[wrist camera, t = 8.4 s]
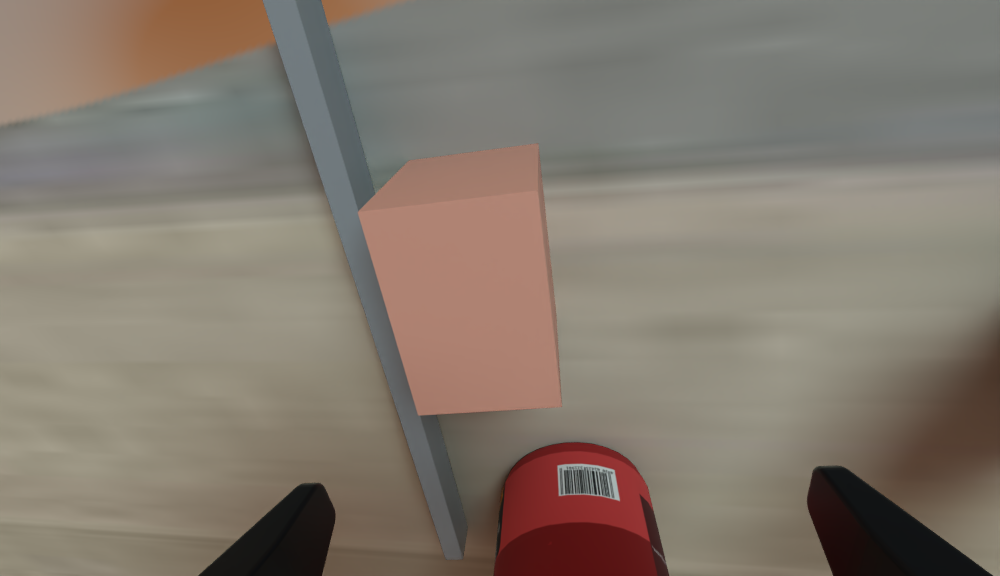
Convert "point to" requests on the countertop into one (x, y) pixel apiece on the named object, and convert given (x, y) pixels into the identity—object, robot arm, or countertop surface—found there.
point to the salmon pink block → (469, 280)
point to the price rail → (360, 236)
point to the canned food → (577, 516)
